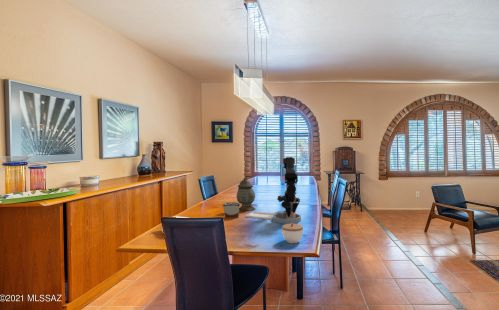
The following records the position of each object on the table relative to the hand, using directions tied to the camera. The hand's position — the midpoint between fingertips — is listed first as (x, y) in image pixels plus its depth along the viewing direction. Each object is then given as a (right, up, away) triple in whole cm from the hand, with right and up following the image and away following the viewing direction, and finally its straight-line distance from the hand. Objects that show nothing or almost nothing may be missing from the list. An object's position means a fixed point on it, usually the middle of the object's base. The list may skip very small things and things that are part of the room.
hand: (291, 215), depth 197 cm
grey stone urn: (-29, -3, +36) cm, 47 cm away
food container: (-39, -4, +14) cm, 42 cm away
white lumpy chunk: (-63, -6, -21) cm, 67 cm away
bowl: (-3, -4, +2) cm, 5 cm away
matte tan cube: (0, -3, 0) cm, 3 cm away
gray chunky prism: (-5, -3, +3) cm, 7 cm away
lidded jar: (-5, -5, -41) cm, 42 cm away
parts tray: (-18, -4, +13) cm, 23 cm away
